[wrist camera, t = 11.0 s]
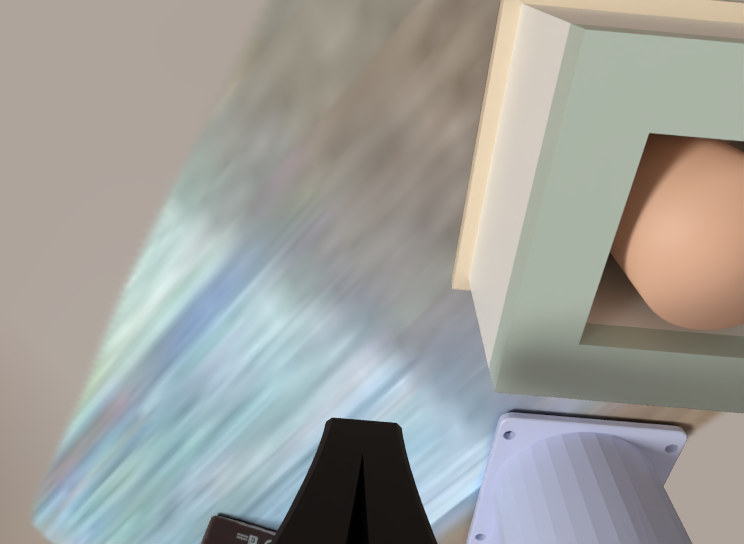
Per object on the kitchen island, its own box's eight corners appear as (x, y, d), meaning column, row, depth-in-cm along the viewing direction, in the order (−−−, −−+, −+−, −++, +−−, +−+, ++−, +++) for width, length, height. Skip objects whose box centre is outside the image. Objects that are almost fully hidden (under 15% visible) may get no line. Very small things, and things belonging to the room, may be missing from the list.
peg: (672, 230, 19) (778, 336, 14) (555, 221, 19) (617, 323, 14) (717, 111, 17) (861, 182, 12) (586, 101, 17) (672, 167, 12)
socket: (716, 304, 21) (835, 434, 15) (451, 281, 21) (472, 404, 15) (852, 12, 16) (1105, 46, 10) (504, -19, 16) (565, -3, 10)
